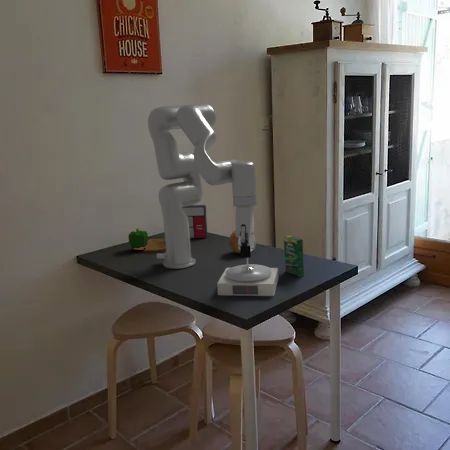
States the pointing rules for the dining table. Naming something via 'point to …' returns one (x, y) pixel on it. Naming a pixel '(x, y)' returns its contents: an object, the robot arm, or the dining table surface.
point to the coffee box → (294, 255)
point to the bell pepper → (138, 239)
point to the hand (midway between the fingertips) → (247, 254)
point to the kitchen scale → (248, 281)
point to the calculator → (196, 220)
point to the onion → (234, 242)
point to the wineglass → (252, 247)
